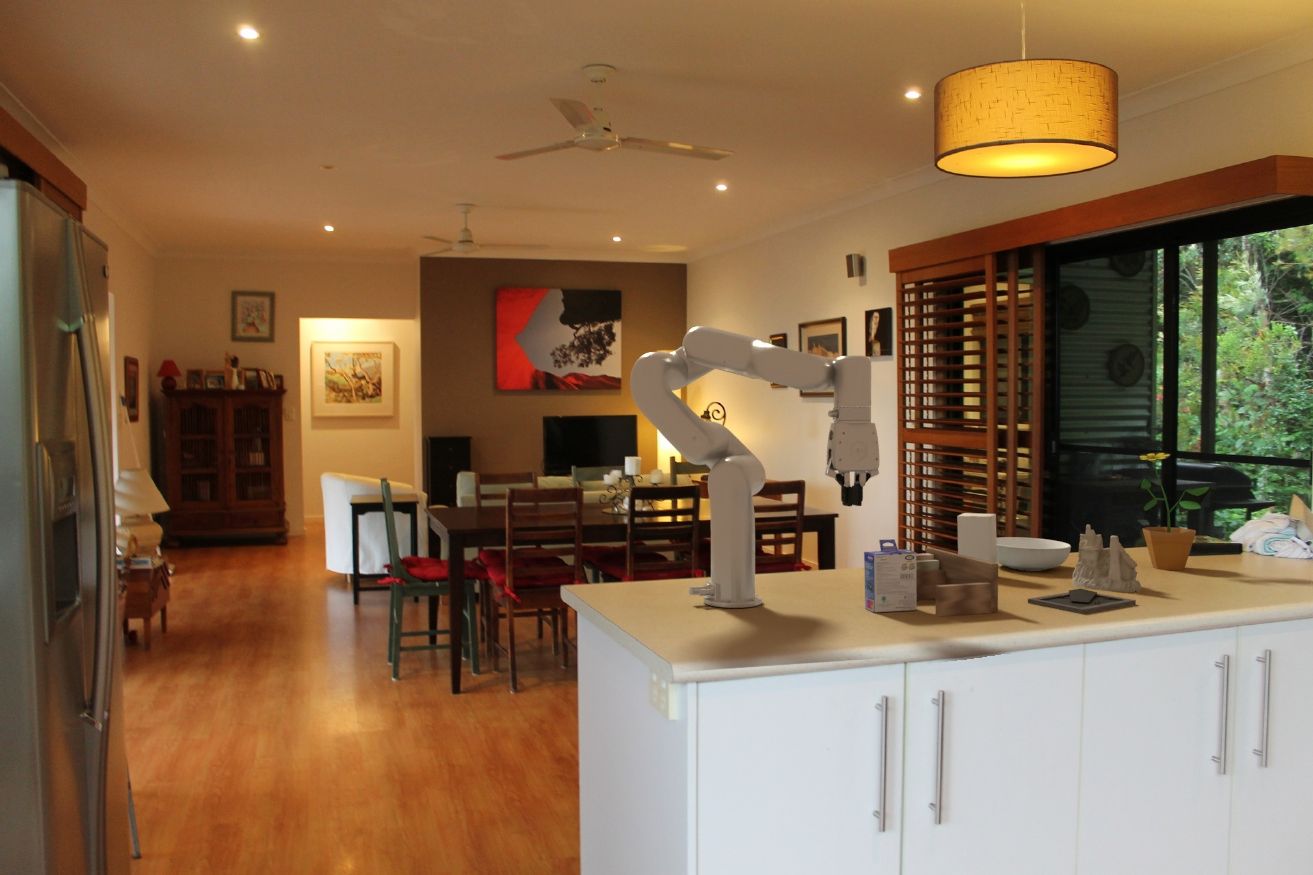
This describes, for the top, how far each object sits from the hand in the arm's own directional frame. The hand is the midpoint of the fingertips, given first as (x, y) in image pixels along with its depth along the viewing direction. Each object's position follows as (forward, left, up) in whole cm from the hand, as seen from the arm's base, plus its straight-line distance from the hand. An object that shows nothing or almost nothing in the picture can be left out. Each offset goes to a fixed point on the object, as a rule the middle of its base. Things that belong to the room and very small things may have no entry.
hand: (851, 505), depth 203 cm
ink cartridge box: (+9, 0, -22) cm, 24 cm away
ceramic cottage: (+73, +10, -23) cm, 77 cm away
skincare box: (+50, +29, -22) cm, 62 cm away
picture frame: (+51, -7, -23) cm, 56 cm away
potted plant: (+105, +25, -22) cm, 110 cm away
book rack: (+22, +3, -22) cm, 31 cm away
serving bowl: (+70, +36, -22) cm, 82 cm away
